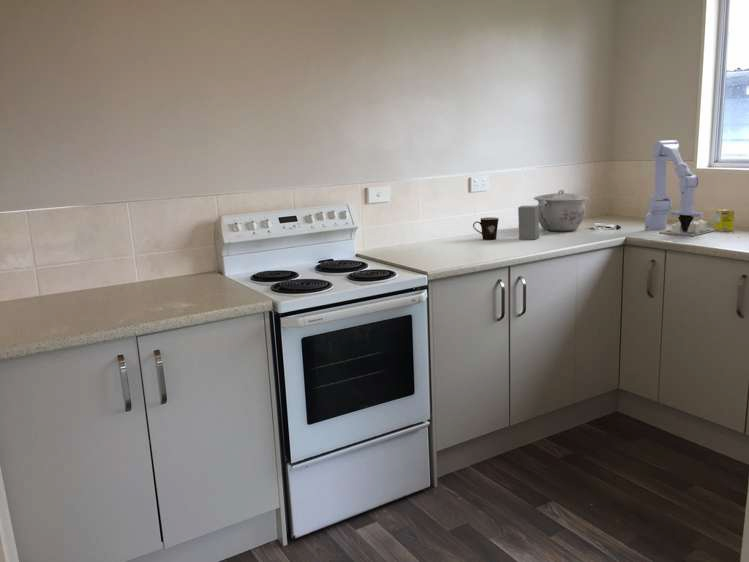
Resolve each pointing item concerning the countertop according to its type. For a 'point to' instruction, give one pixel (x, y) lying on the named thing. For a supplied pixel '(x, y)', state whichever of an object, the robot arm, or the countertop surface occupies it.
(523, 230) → the skincare box
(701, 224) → the tab
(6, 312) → the countertop surface
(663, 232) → the switch board
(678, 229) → the tab
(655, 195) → the robot arm
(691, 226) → the beige block
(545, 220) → the chamber pot
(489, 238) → the coffee mug
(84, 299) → the countertop surface
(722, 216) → the supplement box
